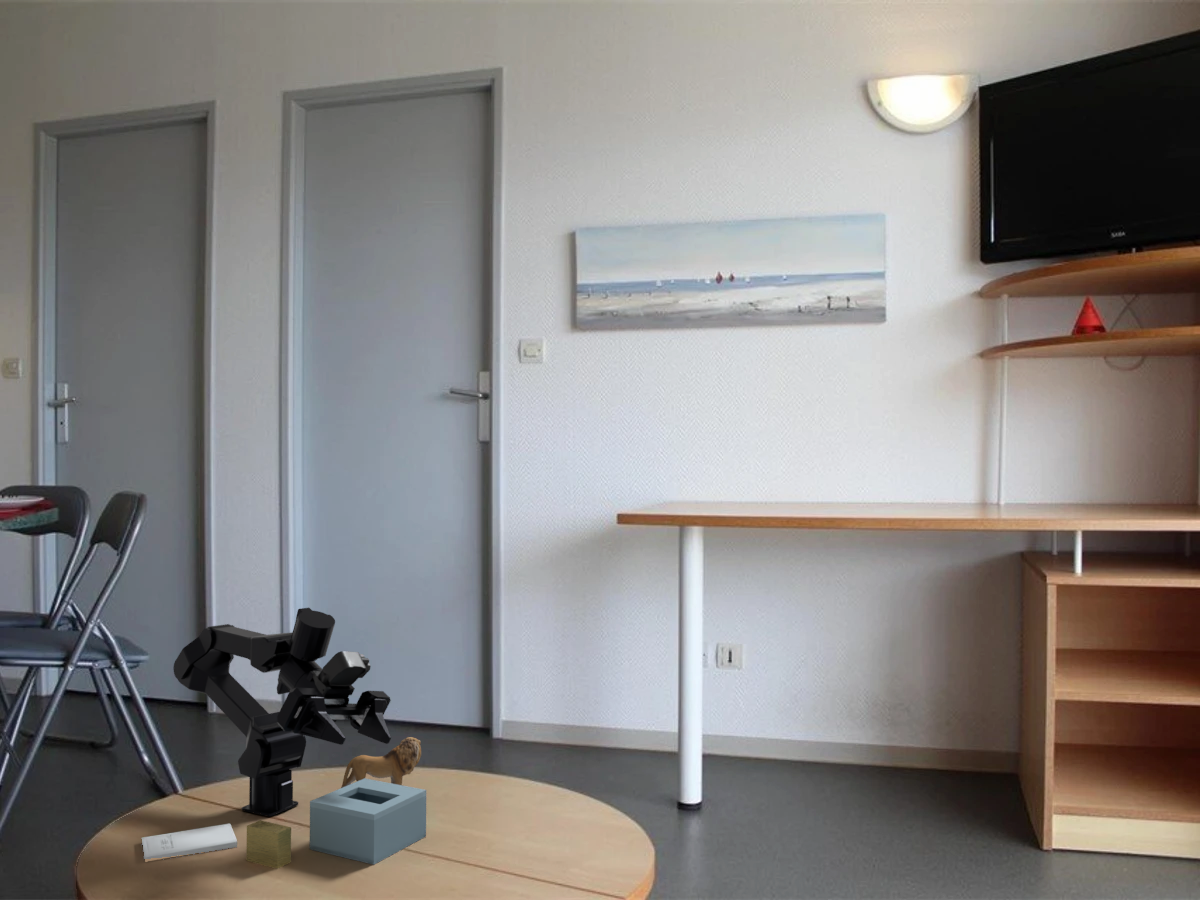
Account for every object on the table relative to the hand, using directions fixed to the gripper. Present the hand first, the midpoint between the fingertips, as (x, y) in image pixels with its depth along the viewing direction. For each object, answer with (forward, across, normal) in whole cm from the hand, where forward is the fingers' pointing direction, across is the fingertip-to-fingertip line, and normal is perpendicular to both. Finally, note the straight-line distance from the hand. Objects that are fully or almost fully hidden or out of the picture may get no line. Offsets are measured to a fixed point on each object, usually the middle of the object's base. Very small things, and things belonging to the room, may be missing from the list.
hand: (366, 741), depth 146 cm
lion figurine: (-10, +21, +17) cm, 29 cm away
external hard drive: (-12, -10, +26) cm, 31 cm away
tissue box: (+6, +4, +14) cm, 16 cm away
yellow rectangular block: (+1, -8, +19) cm, 21 cm away
